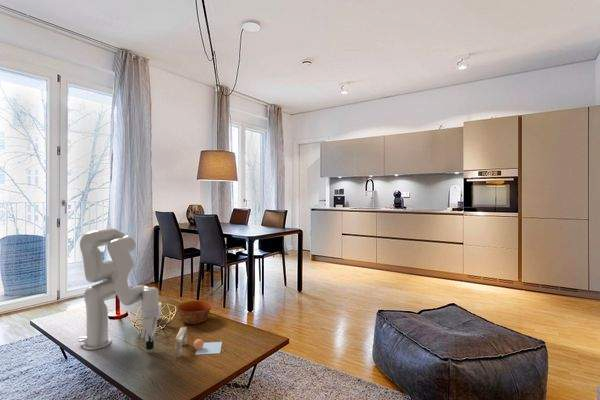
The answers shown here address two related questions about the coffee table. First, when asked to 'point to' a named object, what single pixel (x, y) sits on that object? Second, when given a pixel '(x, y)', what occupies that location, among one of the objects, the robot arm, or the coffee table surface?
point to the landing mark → (210, 348)
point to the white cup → (159, 310)
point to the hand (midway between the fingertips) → (149, 348)
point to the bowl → (194, 311)
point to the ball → (198, 344)
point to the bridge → (180, 341)
